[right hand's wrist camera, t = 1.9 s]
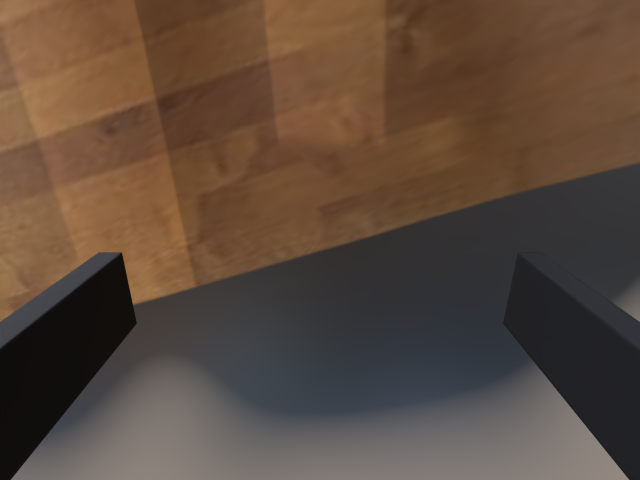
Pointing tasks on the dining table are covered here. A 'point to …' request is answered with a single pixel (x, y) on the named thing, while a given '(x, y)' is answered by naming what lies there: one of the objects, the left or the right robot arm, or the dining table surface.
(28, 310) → the right robot arm
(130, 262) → the dining table surface
